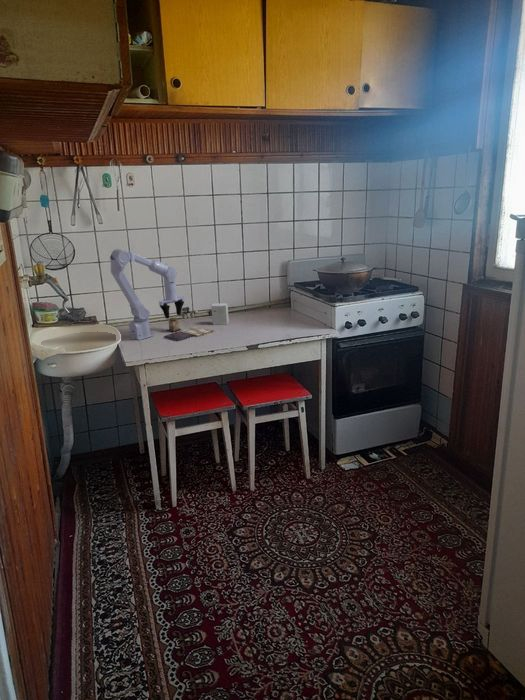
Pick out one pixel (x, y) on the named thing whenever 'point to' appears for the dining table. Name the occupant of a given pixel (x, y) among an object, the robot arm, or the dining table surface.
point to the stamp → (173, 325)
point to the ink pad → (178, 336)
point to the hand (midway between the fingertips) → (173, 316)
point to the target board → (196, 331)
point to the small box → (220, 313)
